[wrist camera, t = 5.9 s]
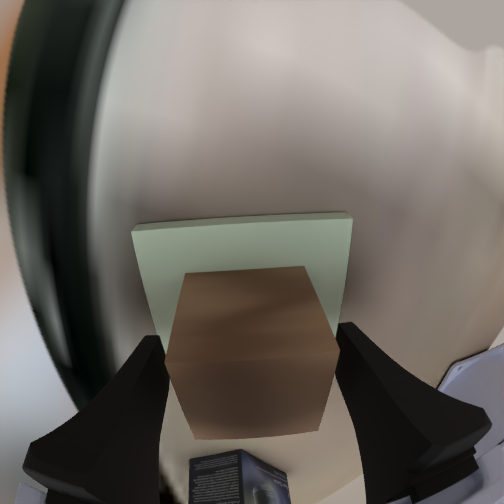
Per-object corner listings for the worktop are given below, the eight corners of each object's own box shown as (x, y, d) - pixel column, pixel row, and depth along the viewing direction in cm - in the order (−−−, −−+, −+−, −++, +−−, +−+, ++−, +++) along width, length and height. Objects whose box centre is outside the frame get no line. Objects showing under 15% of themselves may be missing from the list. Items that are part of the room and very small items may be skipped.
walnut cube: (304, 265, 12) (340, 350, 8) (297, 348, 14) (317, 430, 10) (185, 273, 12) (164, 362, 8) (201, 355, 14) (195, 439, 10)
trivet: (346, 212, 12) (353, 218, 11) (325, 358, 16) (328, 367, 15) (136, 224, 12) (131, 231, 11) (174, 368, 16) (172, 378, 15)
